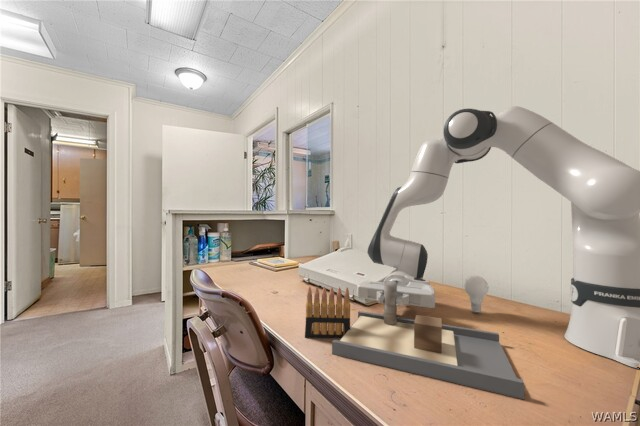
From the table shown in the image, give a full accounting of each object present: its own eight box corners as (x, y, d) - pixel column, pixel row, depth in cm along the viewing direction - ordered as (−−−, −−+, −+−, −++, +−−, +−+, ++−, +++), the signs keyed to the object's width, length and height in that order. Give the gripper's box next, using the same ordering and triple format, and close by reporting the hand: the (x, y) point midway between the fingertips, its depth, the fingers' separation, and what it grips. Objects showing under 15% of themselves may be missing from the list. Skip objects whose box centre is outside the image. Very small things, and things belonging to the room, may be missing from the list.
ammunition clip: (304, 339, 62) (305, 287, 62) (305, 335, 63) (305, 285, 63) (350, 340, 61) (351, 288, 61) (350, 336, 63) (350, 286, 63)
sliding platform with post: (453, 334, 61) (453, 287, 61) (457, 370, 47) (457, 308, 47) (360, 318, 70) (360, 277, 70) (339, 344, 56) (340, 292, 56)
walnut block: (441, 342, 55) (441, 318, 56) (441, 353, 51) (441, 327, 51) (416, 337, 57) (416, 314, 58) (414, 348, 53) (414, 322, 53)
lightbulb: (459, 310, 81) (459, 274, 82) (475, 308, 83) (475, 273, 83) (477, 317, 75) (476, 278, 75) (493, 315, 77) (493, 277, 77)
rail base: (498, 344, 59) (498, 333, 59) (524, 399, 41) (524, 383, 41) (359, 320, 72) (359, 310, 72) (332, 353, 54) (332, 341, 54)
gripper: (363, 274, 82) (349, 283, 69) (435, 281, 73) (434, 293, 61) (363, 294, 82) (349, 308, 69) (435, 304, 73) (434, 321, 61)
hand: (389, 301), depth 65 cm, fingers closed on sliding platform with post, 3 cm apart
